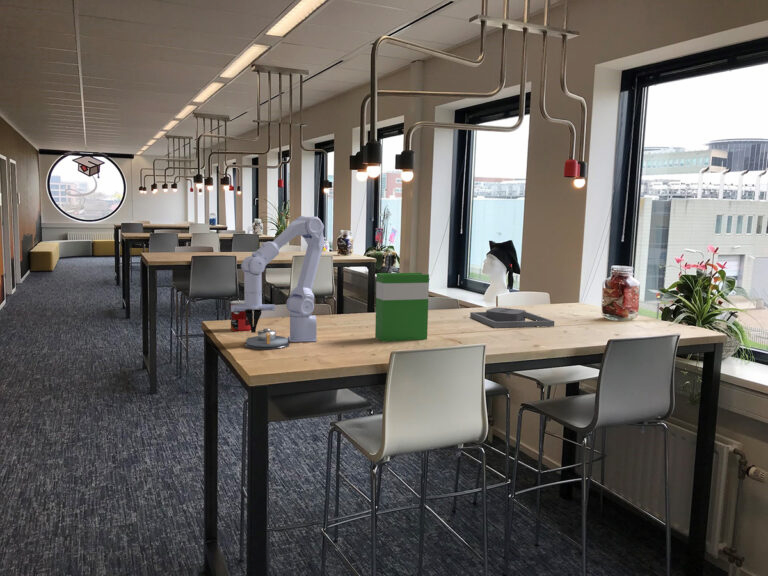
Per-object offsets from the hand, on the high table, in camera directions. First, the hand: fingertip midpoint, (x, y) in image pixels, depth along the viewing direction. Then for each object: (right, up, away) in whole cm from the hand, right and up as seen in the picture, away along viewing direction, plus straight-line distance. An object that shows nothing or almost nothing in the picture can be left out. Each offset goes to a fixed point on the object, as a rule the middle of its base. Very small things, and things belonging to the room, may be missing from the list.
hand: (253, 332), depth 211 cm
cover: (+4, -3, +1) cm, 5 cm away
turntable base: (+4, -5, +2) cm, 7 cm away
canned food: (-10, -2, +28) cm, 30 cm away
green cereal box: (+51, -4, +19) cm, 54 cm away
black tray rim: (+100, 0, +62) cm, 117 cm away
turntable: (+4, -5, +2) cm, 7 cm away
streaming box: (+98, 0, +62) cm, 116 cm away
